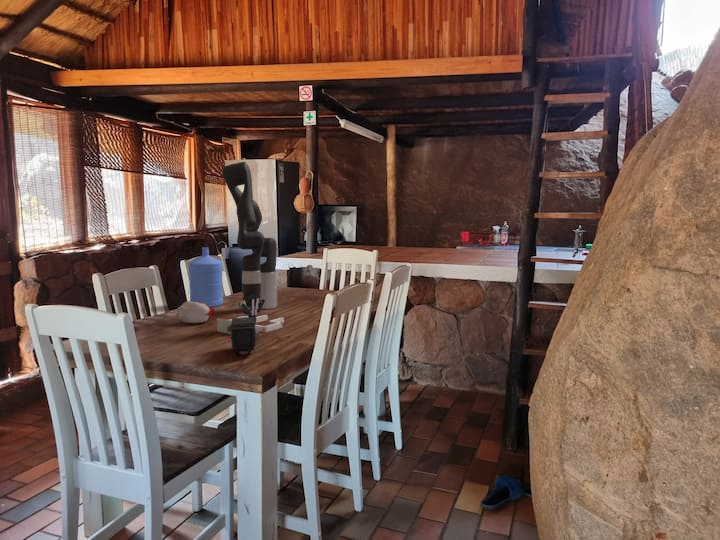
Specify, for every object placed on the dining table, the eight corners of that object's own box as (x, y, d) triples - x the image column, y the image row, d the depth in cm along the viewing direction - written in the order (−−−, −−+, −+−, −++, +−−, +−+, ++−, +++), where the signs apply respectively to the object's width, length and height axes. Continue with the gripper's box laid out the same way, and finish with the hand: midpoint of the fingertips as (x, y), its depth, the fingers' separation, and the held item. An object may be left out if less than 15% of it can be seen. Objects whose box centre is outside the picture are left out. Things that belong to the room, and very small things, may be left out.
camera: (227, 350, 188) (227, 357, 173) (226, 317, 187) (226, 322, 173) (258, 348, 190) (261, 355, 175) (258, 315, 190) (260, 320, 175)
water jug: (214, 308, 255) (212, 249, 252) (183, 306, 259) (182, 248, 255) (228, 302, 271) (227, 246, 267) (199, 301, 274) (198, 245, 270)
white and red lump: (174, 322, 222) (202, 320, 235) (193, 325, 216) (221, 323, 229) (175, 300, 222) (203, 299, 235) (195, 303, 216) (222, 302, 229)
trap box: (256, 317, 235) (256, 306, 235) (294, 324, 223) (294, 312, 223) (207, 329, 213) (207, 316, 213) (246, 337, 201) (246, 324, 201)
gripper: (256, 278, 224) (257, 320, 226) (232, 282, 213) (233, 325, 215) (270, 280, 220) (270, 322, 222) (246, 284, 209) (247, 328, 211)
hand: (252, 324), depth 219 cm, fingers closed
